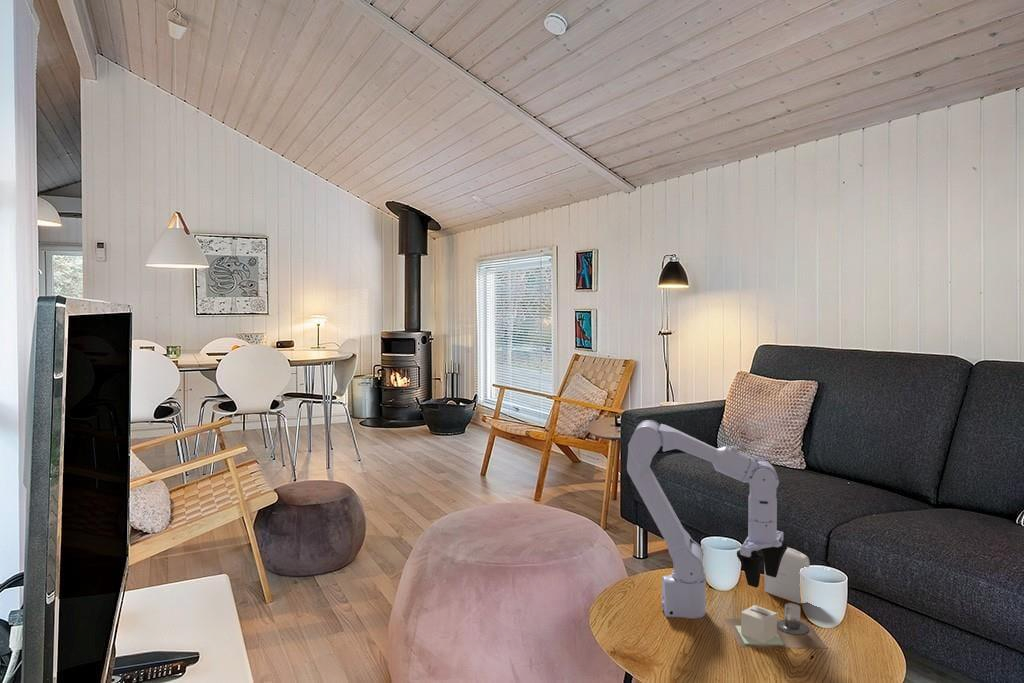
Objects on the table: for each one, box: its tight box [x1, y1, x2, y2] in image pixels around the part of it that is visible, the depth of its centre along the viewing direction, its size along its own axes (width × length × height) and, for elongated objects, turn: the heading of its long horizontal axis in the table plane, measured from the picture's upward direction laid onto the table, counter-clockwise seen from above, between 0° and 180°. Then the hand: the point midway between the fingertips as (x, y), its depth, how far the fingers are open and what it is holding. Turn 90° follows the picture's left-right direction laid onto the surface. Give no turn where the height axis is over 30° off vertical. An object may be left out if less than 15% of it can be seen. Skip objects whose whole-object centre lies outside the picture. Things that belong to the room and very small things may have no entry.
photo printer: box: [763, 546, 811, 605], centre depth 156 cm, size 10×4×12 cm, turn 39°
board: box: [724, 618, 829, 650], centre depth 139 cm, size 17×12×1 cm
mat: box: [735, 626, 784, 646], centre depth 137 cm, size 8×8×1 cm
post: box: [777, 602, 809, 635], centre depth 141 cm, size 6×6×4 cm
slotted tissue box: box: [740, 604, 778, 643], centre depth 137 cm, size 5×5×5 cm
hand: (762, 580), depth 145 cm, fingers open, 7 cm apart
